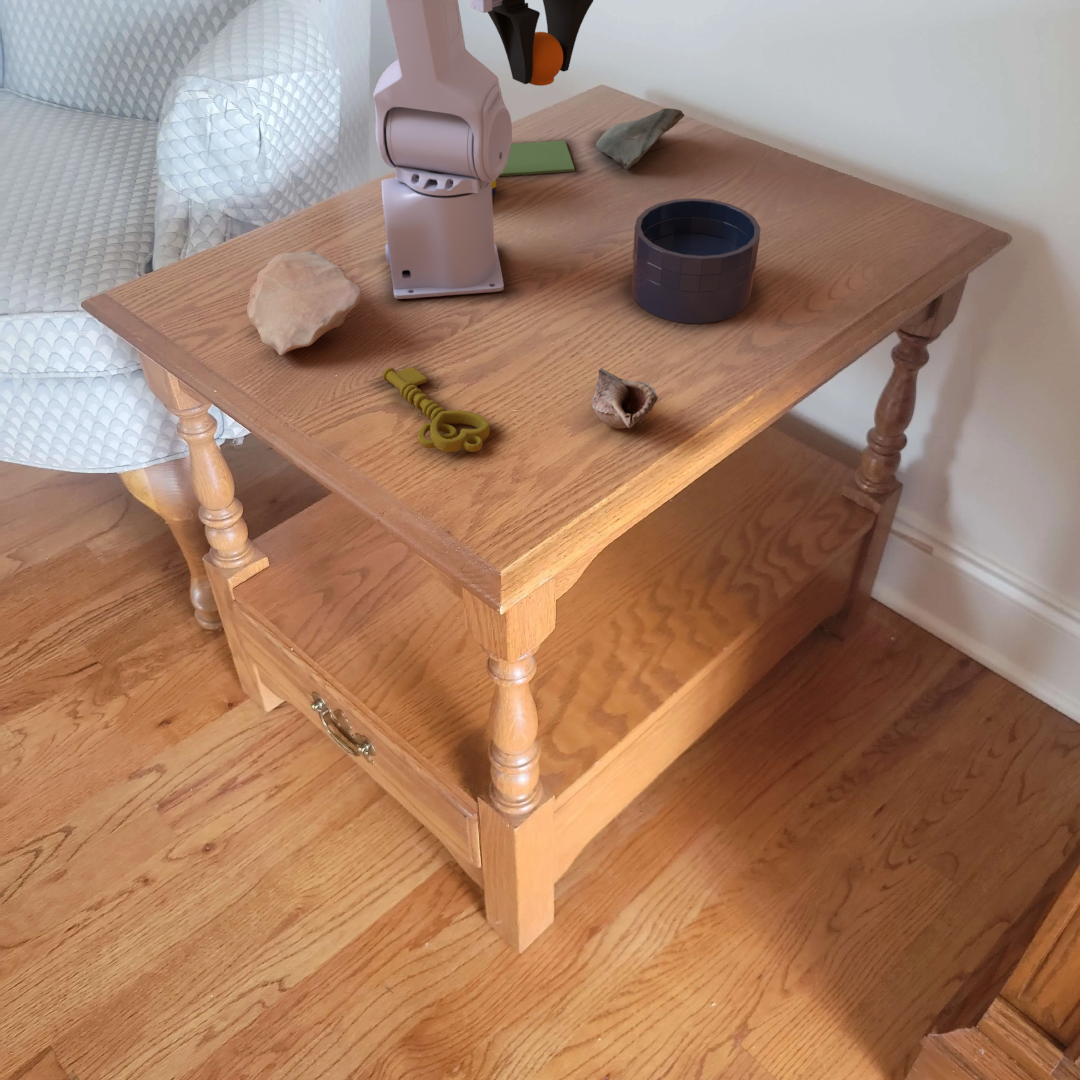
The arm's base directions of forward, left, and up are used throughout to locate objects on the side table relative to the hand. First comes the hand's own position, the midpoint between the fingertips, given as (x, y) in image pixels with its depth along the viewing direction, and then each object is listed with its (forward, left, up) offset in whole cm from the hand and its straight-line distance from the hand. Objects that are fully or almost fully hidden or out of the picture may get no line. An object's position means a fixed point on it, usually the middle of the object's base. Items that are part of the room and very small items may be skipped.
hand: (540, 74), depth 98 cm
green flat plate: (-1, +2, -9) cm, 10 cm away
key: (-11, -39, -9) cm, 42 cm away
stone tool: (-21, -32, -6) cm, 39 cm away
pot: (+10, -26, -9) cm, 29 cm away
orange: (0, 0, +2) cm, 2 cm away
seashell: (+2, -42, -8) cm, 43 cm away
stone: (+10, +2, -10) cm, 14 cm away
